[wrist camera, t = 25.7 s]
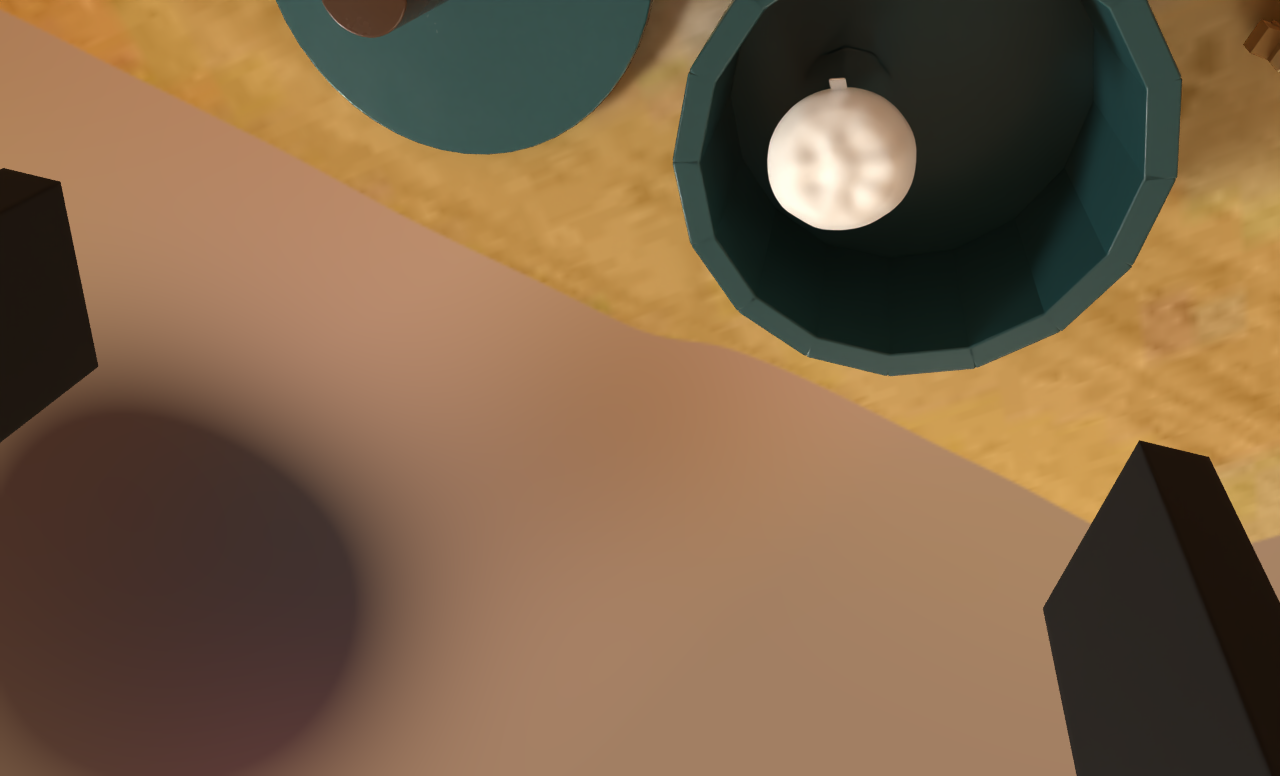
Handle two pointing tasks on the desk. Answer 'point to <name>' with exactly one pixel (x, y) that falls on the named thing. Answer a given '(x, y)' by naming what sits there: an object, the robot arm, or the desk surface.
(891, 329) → the tin
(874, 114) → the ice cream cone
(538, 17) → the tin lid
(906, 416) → the desk surface
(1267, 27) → the blocky axolotl figure
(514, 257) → the desk surface
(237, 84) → the desk surface
